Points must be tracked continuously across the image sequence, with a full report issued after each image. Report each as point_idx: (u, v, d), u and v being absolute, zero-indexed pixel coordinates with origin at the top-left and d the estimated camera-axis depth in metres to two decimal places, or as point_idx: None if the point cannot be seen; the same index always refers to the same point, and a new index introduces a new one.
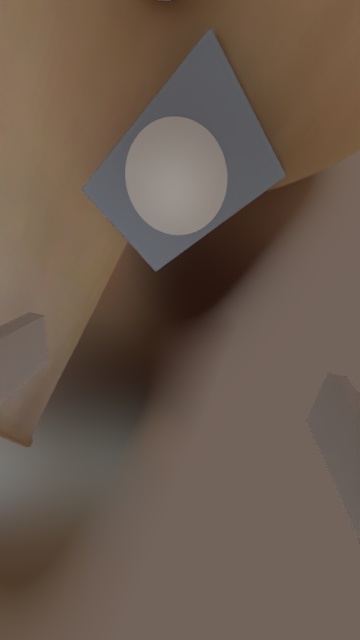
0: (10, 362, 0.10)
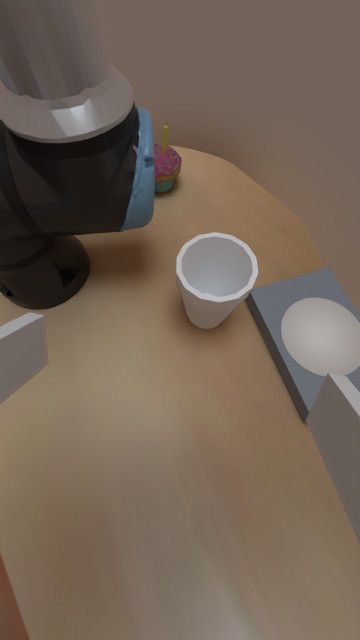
0: (10, 362, 0.10)
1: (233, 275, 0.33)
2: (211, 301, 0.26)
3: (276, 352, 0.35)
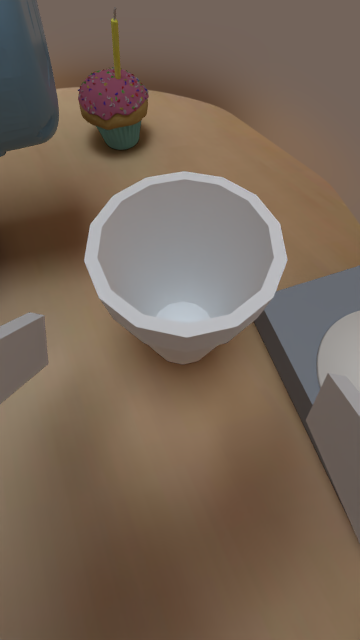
0: (10, 362, 0.10)
1: (228, 268, 0.17)
2: (167, 334, 0.10)
3: None
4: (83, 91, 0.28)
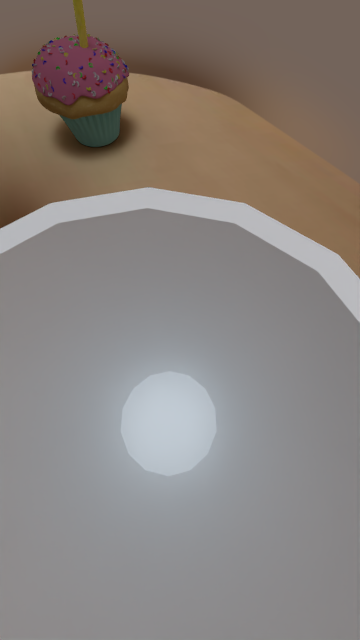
0: None
1: (246, 366, 0.09)
2: None
3: None
4: (37, 65, 0.20)
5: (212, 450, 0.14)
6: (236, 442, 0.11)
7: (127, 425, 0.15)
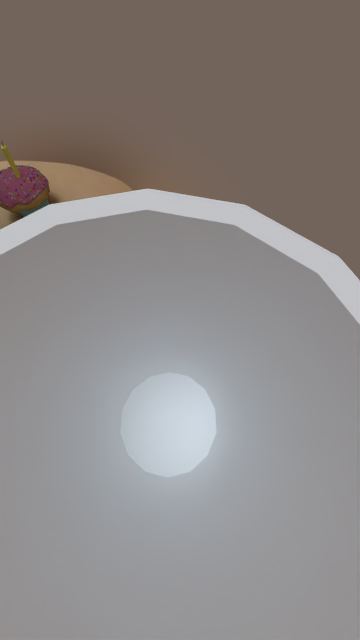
0: None
1: (246, 368, 0.09)
2: None
3: None
4: None
5: (212, 451, 0.14)
6: (236, 444, 0.11)
7: (127, 426, 0.15)
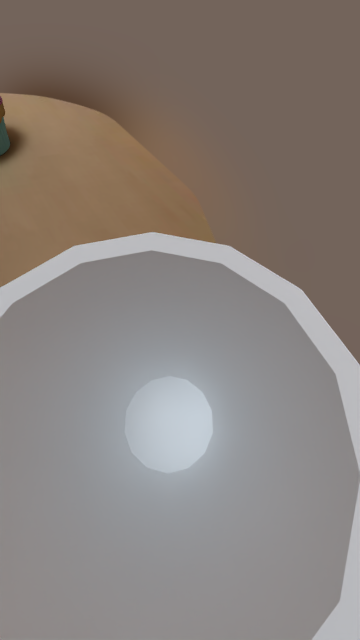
0: None
1: (236, 373, 0.10)
2: None
3: None
4: None
5: (209, 449, 0.15)
6: (229, 441, 0.12)
7: (130, 426, 0.16)
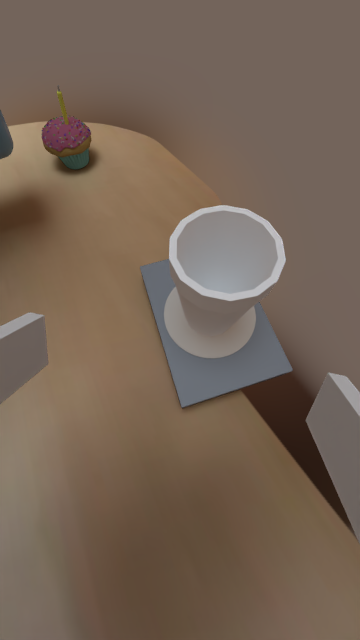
0: (10, 362, 0.10)
1: (247, 266, 0.25)
2: (218, 299, 0.18)
3: None
4: (44, 132, 0.42)
5: None
6: None
7: None
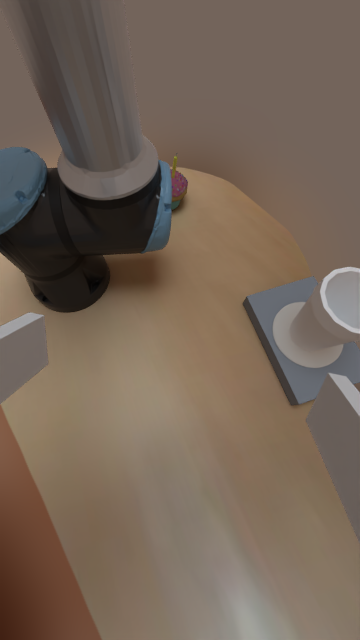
0: (10, 362, 0.10)
1: (353, 303, 0.35)
2: None
3: (269, 347, 0.42)
4: None
5: None
6: None
7: None
